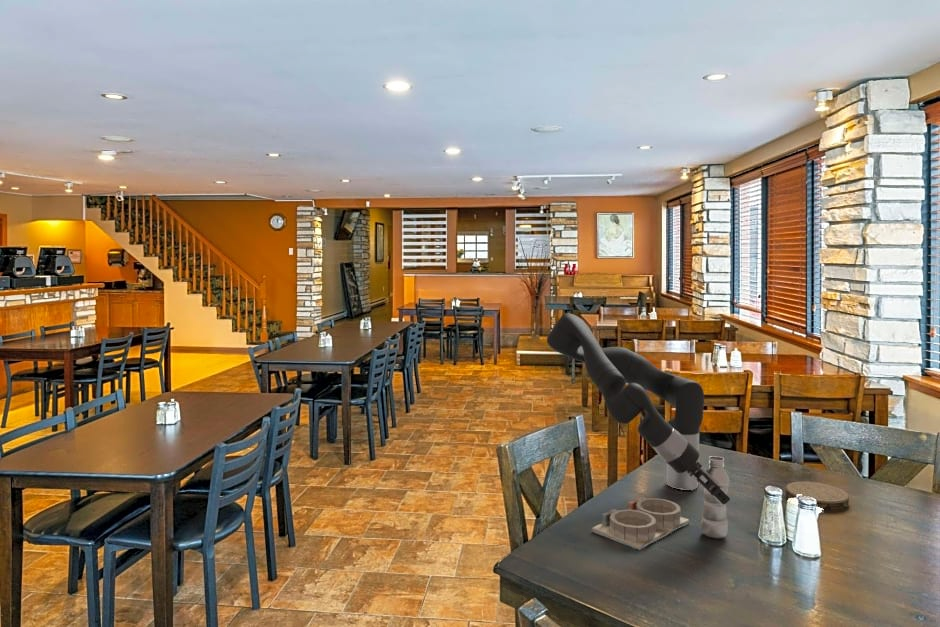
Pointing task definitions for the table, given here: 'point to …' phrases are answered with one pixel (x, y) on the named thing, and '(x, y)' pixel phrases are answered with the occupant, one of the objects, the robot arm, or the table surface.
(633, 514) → the bottle stand
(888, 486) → the table surface
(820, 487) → the brown round disc
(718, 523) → the plastic bottle
